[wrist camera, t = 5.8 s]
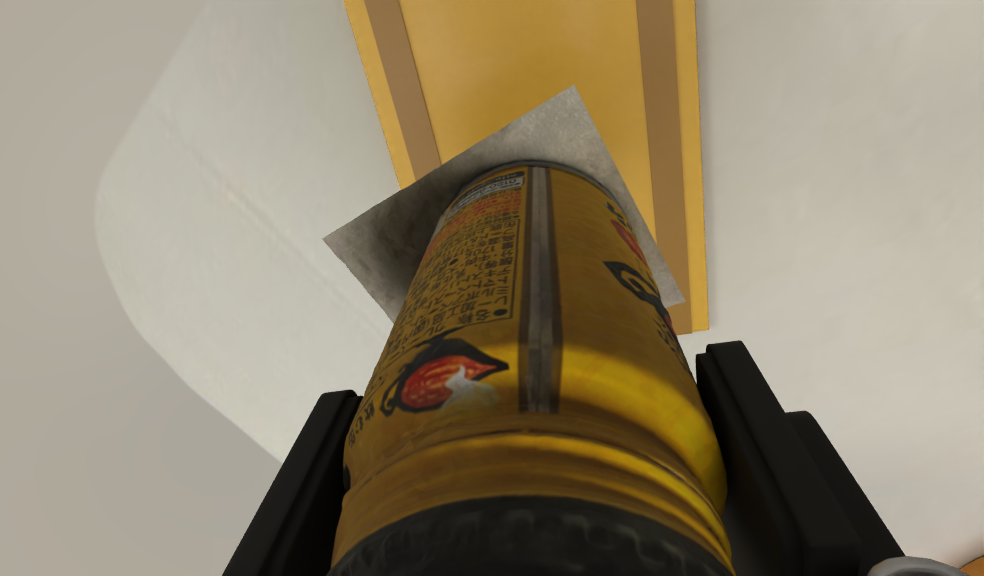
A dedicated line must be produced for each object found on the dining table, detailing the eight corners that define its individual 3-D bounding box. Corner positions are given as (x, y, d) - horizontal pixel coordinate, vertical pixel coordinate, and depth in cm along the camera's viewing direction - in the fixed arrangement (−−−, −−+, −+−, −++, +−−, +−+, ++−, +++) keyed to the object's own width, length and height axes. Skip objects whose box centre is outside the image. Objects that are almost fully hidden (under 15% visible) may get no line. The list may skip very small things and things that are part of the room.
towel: (342, -13, 26) (338, -13, 25) (688, -105, 23) (691, -107, 23) (454, 361, 36) (453, 365, 35) (707, 326, 33) (709, 330, 32)
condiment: (684, 297, 17) (937, 816, 6) (456, 399, 19) (356, 888, 9) (573, 82, 14) (685, 346, 3) (325, 234, 17) (-48, 652, 6)
